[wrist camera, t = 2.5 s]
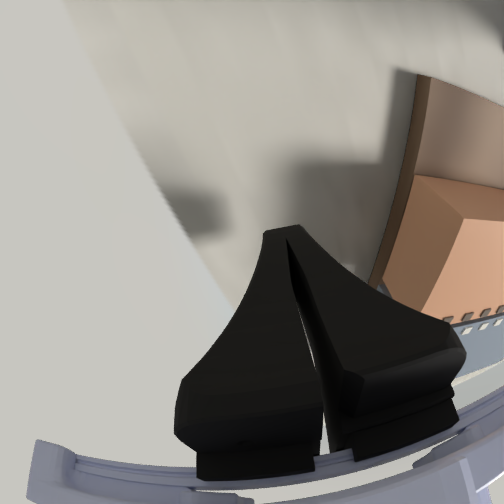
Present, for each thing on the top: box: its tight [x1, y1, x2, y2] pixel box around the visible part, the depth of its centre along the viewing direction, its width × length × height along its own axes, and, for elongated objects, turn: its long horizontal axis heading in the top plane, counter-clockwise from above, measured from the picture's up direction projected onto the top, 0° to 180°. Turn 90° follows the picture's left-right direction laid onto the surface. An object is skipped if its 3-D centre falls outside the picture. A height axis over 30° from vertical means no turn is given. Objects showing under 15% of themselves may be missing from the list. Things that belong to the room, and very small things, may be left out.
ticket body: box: [377, 284, 504, 378], centre depth 15 cm, size 14×7×4 cm, turn 89°
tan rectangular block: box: [382, 175, 504, 324], centre depth 11 cm, size 8×6×4 cm
